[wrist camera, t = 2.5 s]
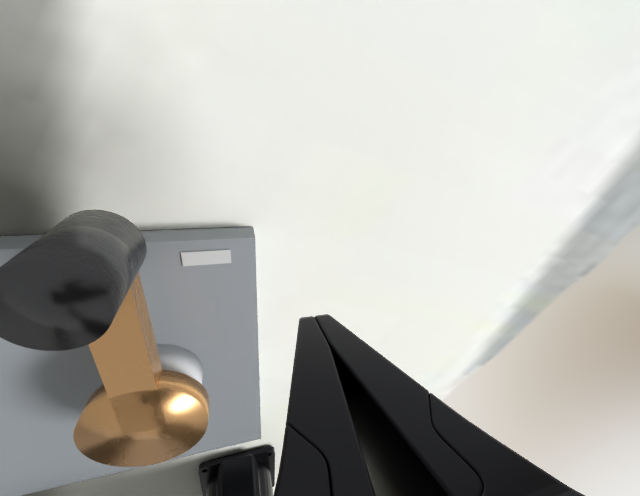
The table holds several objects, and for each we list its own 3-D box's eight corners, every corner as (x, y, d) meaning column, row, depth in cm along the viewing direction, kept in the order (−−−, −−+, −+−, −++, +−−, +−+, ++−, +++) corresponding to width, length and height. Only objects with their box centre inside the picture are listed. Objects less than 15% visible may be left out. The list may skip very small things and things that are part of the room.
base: (259, 420, 25) (263, 465, 22) (-12, 480, 20) (-56, 549, 17) (252, 226, 17) (258, 254, 14) (-208, 243, 12) (-359, 294, 9)
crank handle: (213, 429, 18) (210, 508, 14) (101, 454, 16) (67, 549, 13) (181, 208, 11) (161, 255, 8) (-11, 211, 10) (-140, 272, 6)
